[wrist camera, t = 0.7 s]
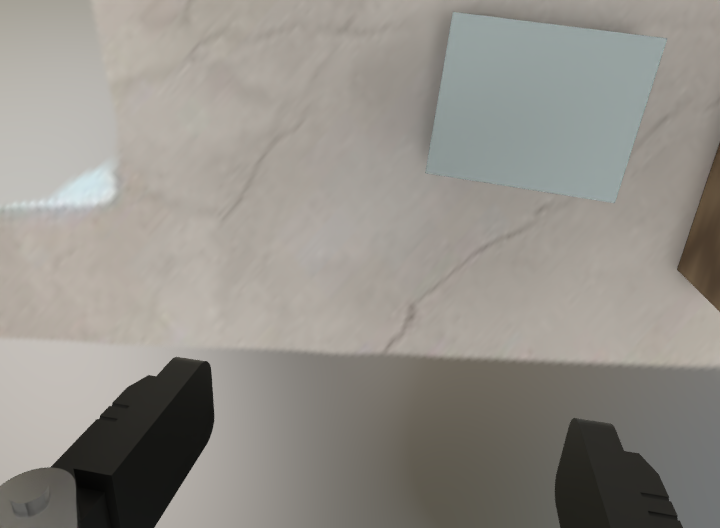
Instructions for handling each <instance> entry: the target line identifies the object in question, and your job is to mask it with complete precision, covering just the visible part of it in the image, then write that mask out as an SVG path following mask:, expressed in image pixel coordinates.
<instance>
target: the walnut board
mask: <svg viewBox="0 0 720 528" xmlns="http://www.w3.org/2000/svg"><path fill="white" fill-rule="evenodd" d="M677 270H678V271H679V272H680V273H681V274H682V275H683V276H684V277H685V278H686V279H687V280H688V281H689V282H690V283H691V284H692V285H693V286H694V287H695V288H696V289H697V290H698V291H699V292H700V293H701V294H702V295H703V296H704V297H705V298H706V299H707V300H708V301H709V302H710V303H711V304H712V305H713V306H714V307H715V308H716V309H717V310H719V311H720V144H719V147H718V150H717V153H716V156H715V159H714V162H713V165H712V168H711V171H710V174H709V177H708V180H707V183H706V186H705V189H704V192H703V195H702V198H701V201H700V204H699V206H698V209H697V212H696V215H695V218H694V221H693V224H692V227H691V230H690V233H689V236H688V239H687V242H686V245H685V248H684V251H683V254H682V257H681V260H680V263H679V266H678V269H677Z"/></svg>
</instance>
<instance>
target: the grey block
mask: <svg viewBox="0 0 720 528" xmlns="http://www.w3.org/2000/svg"><path fill="white" fill-rule="evenodd" d="M666 41H667V38H660V37H652V36H644V35H636V34H628V33H620V32H612V31H604V30H596V29H588V28H579V27H571V26H563V25H555V24H547V23H539V22H531V21H523V20H515V19H507V18H499V17H491V16H482V15H474V14H466V13H458V12H453V15H452V20H451V26H450V32H449V38H448V44H447V50H446V55H445V61H444V67H443V73H442V79H441V85H440V90H439V96H438V102H437V108H436V114H435V120H434V125H433V131H432V137H431V143H430V149H429V154H428V160H427V166H426V172H425V173H427V174H434V175H440V176H446V177H453V178H459V179H465V180H472V181H478V182H484V183H490V184H497V185H503V186H509V187H516V188H522V189H528V190H535V191H541V192H547V193H553V194H560V195H566V196H572V197H579V198H585V199H591V200H598V201H604V202H610V203H615V201H616V198H617V195H618V191H619V188H620V185H621V182H622V179H623V176H624V173H625V170H626V166H627V163H628V160H629V157H630V154H631V151H632V148H633V145H634V141H635V138H636V135H637V132H638V129H639V126H640V123H641V120H642V116H643V113H644V110H645V107H646V104H647V101H648V98H649V95H650V91H651V88H652V85H653V82H654V79H655V76H656V73H657V70H658V66H659V63H660V60H661V57H662V54H663V51H664V48H665V45H666Z"/></svg>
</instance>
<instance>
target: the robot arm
mask: <svg viewBox="0 0 720 528" xmlns="http://www.w3.org/2000/svg"><path fill="white" fill-rule="evenodd" d="M213 405H214V404H213V391H212V375H211V367H210V364H209V363H208V362H207V361H200V360H193V359H187V358H180V357H175V358H173V359H172V360H171V361H170V362H169V363H168V364H167V365H166V366H165V367H164V369H163V370H162V371H161V372H160V373H159V374H158V375H157V376H150V375H149V376H147V377H145V378H143V379H141V380H140V381H138V382H136V383H134V384H133V385H131V386H129V387H127V388H126V390H124V392H122V394H121V395H120V396H119V397H118V398H117V399H116V400H115V401H114V402H113V404H112V406H109V407H108V408H107V409H106V410H105V411H104V412H103V413H102V414H101V415H100V419H97V420H96V421H95V422H94V423H93V424H92V425H91V426H90V427H89V428H88V429H87V430H86V431H85V432H84V433H83V434H82V435H81V436H80V437H79V438H78V439H77V440H76V442H75V443H73V445H72V446H71V447H70V448H69V449H68V450H67V451H66V452H65V453H64V454H63V455H62V456H61V457H60V458H59V459H58V460H57V461H56V462H55V463H54V464H53V465H52V466H51V467H50V468H39V469H34V470H31V471H27V472H24V473H22V474H19V475H17V476H15V477H13V478H11V479H10V480H8V481H6V482H5V483H3V484H2V485H1V486H0V528H154V527H155V525H156V524H157V522H158V521H159V519H160V518H161V516H162V514H163V513H164V511H165V510H166V508H167V506H168V505H169V503H170V502H171V500H172V498H173V497H174V495H175V494H176V492H177V491H178V489H179V487H180V486H181V484H182V483H183V481H184V479H185V478H186V476H187V474H188V473H189V471H190V470H191V468H192V467H193V465H194V463H195V462H196V460H197V459H198V457H199V456H200V454H201V452H202V451H203V449H204V448H205V446H206V444H207V443H208V441H209V438H210V435H211V433H212V429H213V424H214V406H213ZM555 503H556V508H557V513H558V518H559V523H560V528H683V527H682V525H681V523H680V521H678V520H677V514H676V512H675V509H674V507H673V505H672V503H671V502H670V501H669V496H668V494H667V492H666V490H665V488H664V485H663V483H662V481H661V479H660V476H659V474H658V473H657V472H656V471H655V470H654V469H653V468H652V467H651V466H650V465H649V464H648V463H647V462H646V461H645V459H643V457H642V456H641V455H640V454H639V453H632V452H626V451H624V450H623V447H622V445H621V442H620V440H619V438H618V435H617V432H616V430H615V428H614V426H613V425H612V424H609V423H603V422H596V421H589V420H584V419H577V418H573V419H572V420H571V422H570V425H569V428H568V432H567V436H566V439H565V444H564V447H563V451H562V455H561V458H560V462H559V466H558V470H557V474H556V480H555Z"/></svg>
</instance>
